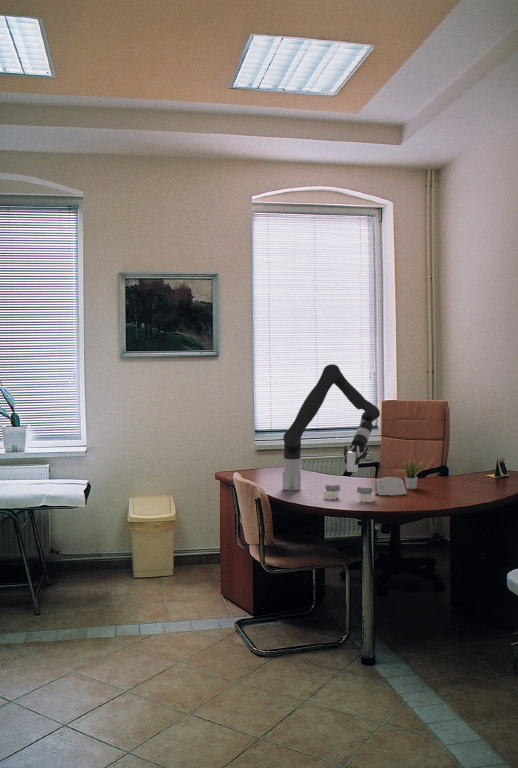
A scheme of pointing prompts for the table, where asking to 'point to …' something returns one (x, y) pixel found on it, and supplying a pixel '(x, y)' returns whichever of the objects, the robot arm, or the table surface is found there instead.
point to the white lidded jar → (331, 491)
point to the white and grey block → (365, 494)
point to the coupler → (352, 461)
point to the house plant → (411, 475)
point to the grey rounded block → (390, 486)
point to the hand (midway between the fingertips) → (350, 463)
